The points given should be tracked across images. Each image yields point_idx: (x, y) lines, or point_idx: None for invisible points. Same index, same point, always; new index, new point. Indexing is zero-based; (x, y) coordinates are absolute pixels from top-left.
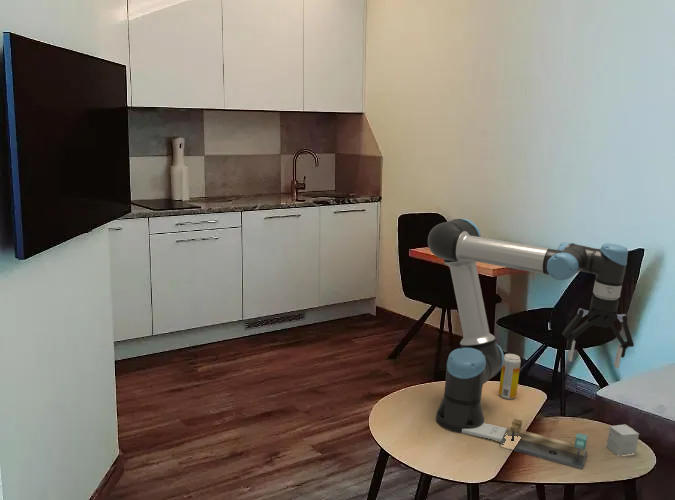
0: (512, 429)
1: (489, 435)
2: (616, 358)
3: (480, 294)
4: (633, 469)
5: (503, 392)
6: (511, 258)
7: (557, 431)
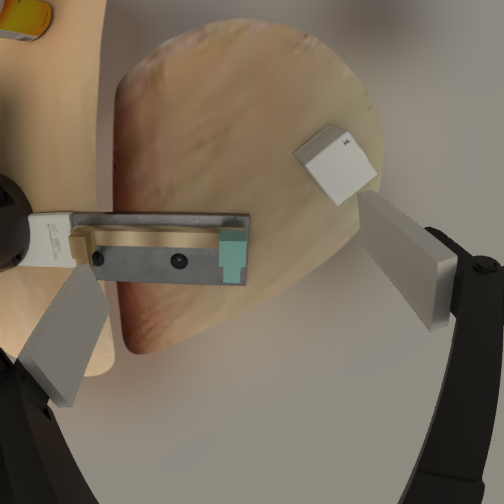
0: None
1: (57, 266)
2: (382, 243)
3: None
4: (345, 229)
5: (20, 40)
6: None
7: (169, 130)
